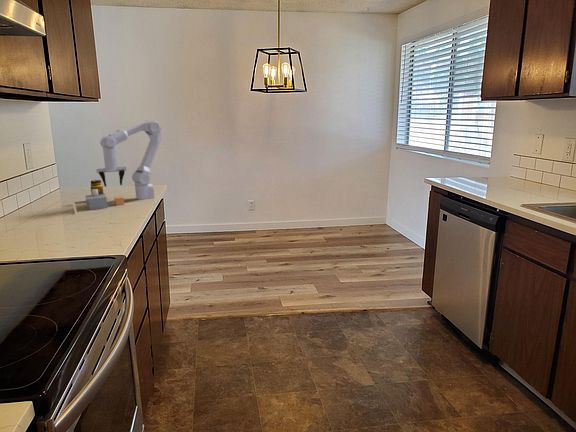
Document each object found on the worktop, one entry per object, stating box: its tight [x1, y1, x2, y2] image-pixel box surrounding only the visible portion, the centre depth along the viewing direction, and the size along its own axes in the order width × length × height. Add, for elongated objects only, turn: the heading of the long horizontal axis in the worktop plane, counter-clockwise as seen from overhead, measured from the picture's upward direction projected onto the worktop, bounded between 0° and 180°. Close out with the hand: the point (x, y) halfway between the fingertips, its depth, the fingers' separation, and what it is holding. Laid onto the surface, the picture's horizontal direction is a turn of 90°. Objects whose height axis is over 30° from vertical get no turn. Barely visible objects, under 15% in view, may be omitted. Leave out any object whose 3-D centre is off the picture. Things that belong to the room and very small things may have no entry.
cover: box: [85, 189, 109, 211], centre depth 222 cm, size 9×10×9 cm
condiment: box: [90, 179, 105, 194], centre depth 239 cm, size 7×8×12 cm
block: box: [114, 195, 125, 206], centre depth 228 cm, size 4×4×4 cm
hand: (113, 185), depth 229 cm, fingers open, 7 cm apart
